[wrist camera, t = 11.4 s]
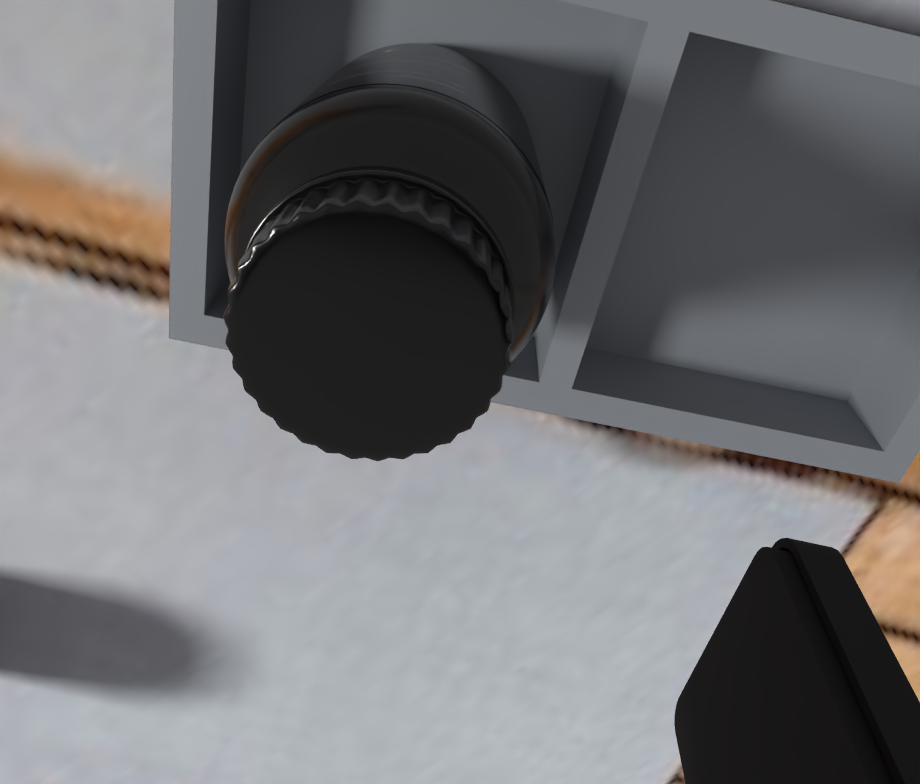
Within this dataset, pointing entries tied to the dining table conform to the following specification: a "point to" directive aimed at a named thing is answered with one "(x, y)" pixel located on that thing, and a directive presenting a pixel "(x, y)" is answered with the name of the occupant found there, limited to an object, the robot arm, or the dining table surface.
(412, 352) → the supplement bottle
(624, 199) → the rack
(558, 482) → the dining table surface
